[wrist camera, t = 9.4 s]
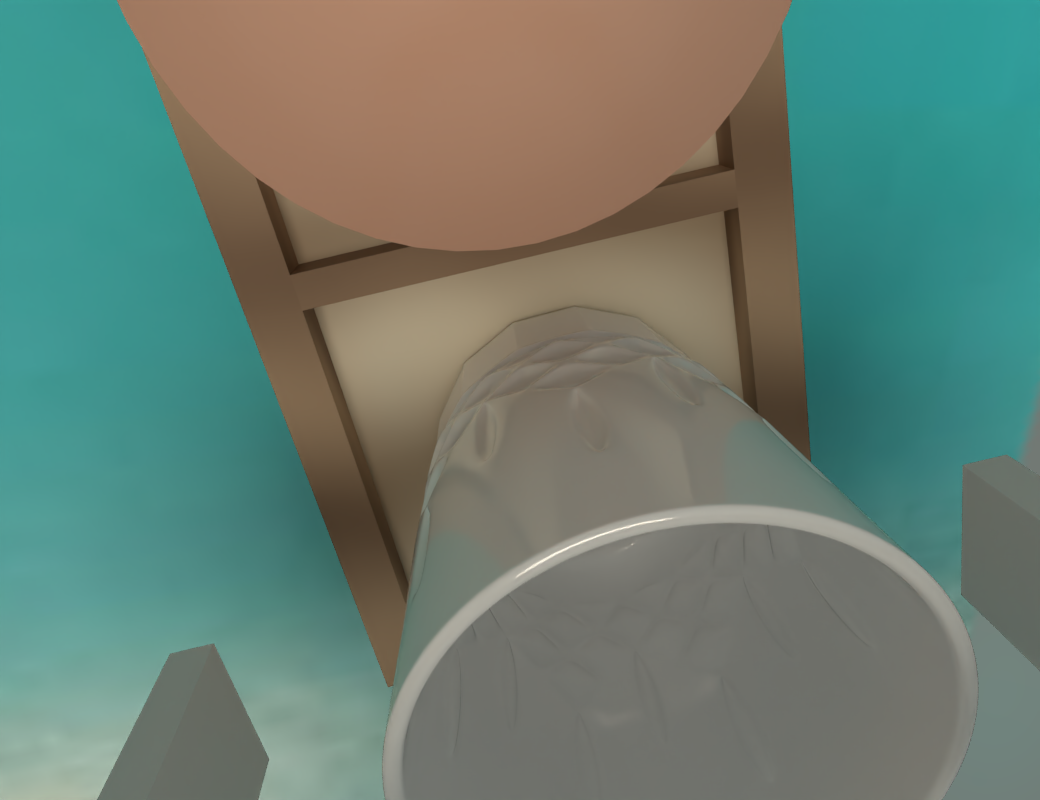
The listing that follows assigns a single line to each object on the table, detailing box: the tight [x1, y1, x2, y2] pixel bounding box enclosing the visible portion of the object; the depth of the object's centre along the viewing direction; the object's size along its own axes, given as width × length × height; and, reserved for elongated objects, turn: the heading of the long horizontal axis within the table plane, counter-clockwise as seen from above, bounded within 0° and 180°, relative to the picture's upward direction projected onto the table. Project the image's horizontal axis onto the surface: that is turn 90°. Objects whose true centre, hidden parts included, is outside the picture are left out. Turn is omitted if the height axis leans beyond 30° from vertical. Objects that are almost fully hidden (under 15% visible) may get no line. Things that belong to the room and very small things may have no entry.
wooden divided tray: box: [142, 26, 811, 687], centre depth 17 cm, size 22×12×2 cm, turn 12°
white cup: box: [382, 306, 978, 800], centre depth 14 cm, size 8×8×10 cm
